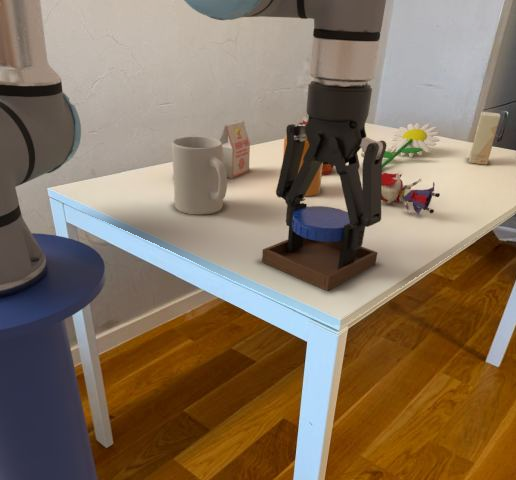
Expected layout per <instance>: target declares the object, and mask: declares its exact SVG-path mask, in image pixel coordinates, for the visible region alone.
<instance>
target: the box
mask: <svg viewBox="0 0 516 480" xmlns="http://www.w3.org/2000/svg"><path fill="white" fill-rule="evenodd" d="M501 117H502V116H501V114H500V113H499V112H488V111H481V112H480V116H479V119H478V123H477V127H476V130H475V135H474V139H473V143H472V146H471V150H470V154H469V157H468V162H469V164H478V165H487V166H488V162H489V159H490V155H491V151H492V149H493V145H494V142H495V138H496V134H497V132H498V131H497V130H498V128H499V123H500V120H501Z"/></svg>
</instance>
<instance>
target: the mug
mask: <svg viewBox="0 0 516 480" xmlns="http://www.w3.org/2000/svg"><path fill="white" fill-rule="evenodd" d="M222 151H223V149H222V142H221V141H220V139H217V138H213V137H208V136H184V137H179V138H175V139H174V140H172V142H171V152H172V153H171V155H172V173H173V192H174V193H173V195H174V207H175V209H176V210H177V211H179V212H181V213H184V214H188V215H199V216H200V215H201V216H202V215H209V214H210V215H211V214H214V213H215V214H216V213H217V212H219V211H221V210H222V209H223V204H224V202H223V201H224V199H225V197H226V195H227V190H228V189H227V188H228V177H227V175H226V169H225V166H224V164H223V163H222Z"/></svg>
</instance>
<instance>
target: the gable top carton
mask: <svg viewBox="0 0 516 480" xmlns="http://www.w3.org/2000/svg"><path fill="white" fill-rule="evenodd" d="M219 141H221V142H222V149H223V151H222V163H223V164H224V166H225V169H226V175H227V178H230V179H233V178H236V177H238V176H241V175H243V174H245V173H248V172H250V157H251V156H250V155H251V154H250V152H251V142H250V138H249V135H248V133H247V129H246V126H245V120H240V121H237V122H233V123H230V124H226V125H224V127H223V131H222V134H221V137H220V139H219Z"/></svg>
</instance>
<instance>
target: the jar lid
mask: <svg viewBox="0 0 516 480" xmlns="http://www.w3.org/2000/svg"><path fill="white" fill-rule="evenodd" d="M349 223H350V220H349V216H348V211H346V210H343V209H341V208H337V207H331V206H323V205H311V206H307V207H304V208H300V209H298V210H296V211H295V212H294V214H293V218H292V230H293V231H294V232H295V233H296V234H298V235H299V236H301V237H304V238H307V239H310V240H315V241H322V242H337V241H342V237H343V230H344V225H347V224H349Z"/></svg>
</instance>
